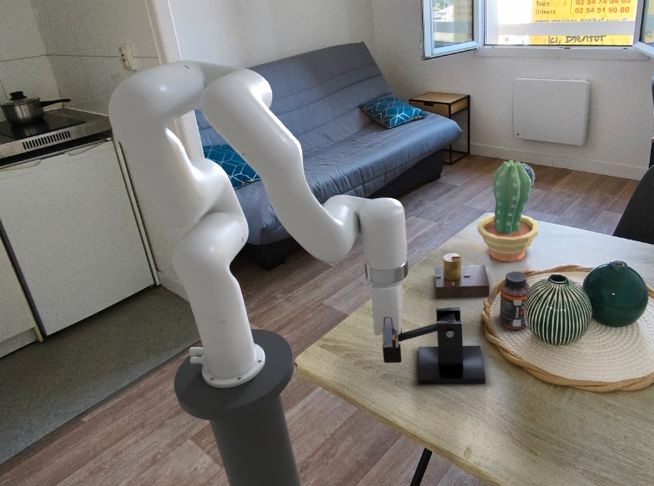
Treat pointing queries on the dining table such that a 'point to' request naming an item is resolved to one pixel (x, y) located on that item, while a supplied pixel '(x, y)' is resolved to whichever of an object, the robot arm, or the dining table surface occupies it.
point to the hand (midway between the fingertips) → (393, 350)
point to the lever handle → (423, 329)
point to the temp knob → (452, 266)
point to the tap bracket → (450, 355)
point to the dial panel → (463, 283)
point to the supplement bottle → (513, 300)
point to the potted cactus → (509, 213)
